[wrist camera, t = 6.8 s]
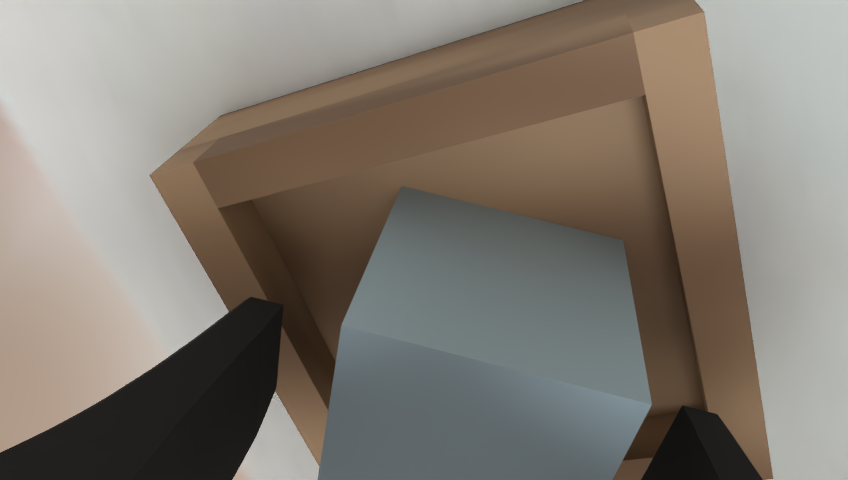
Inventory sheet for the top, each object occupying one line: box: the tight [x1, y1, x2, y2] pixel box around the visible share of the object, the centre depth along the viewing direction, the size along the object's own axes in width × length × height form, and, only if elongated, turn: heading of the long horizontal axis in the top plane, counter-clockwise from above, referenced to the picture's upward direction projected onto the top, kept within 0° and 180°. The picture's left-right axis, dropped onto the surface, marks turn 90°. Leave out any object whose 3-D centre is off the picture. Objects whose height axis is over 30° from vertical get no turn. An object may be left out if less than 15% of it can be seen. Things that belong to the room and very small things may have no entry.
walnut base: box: [150, 0, 773, 480], centre depth 15 cm, size 10×10×3 cm
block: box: [318, 186, 652, 480], centre depth 13 cm, size 4×4×4 cm
